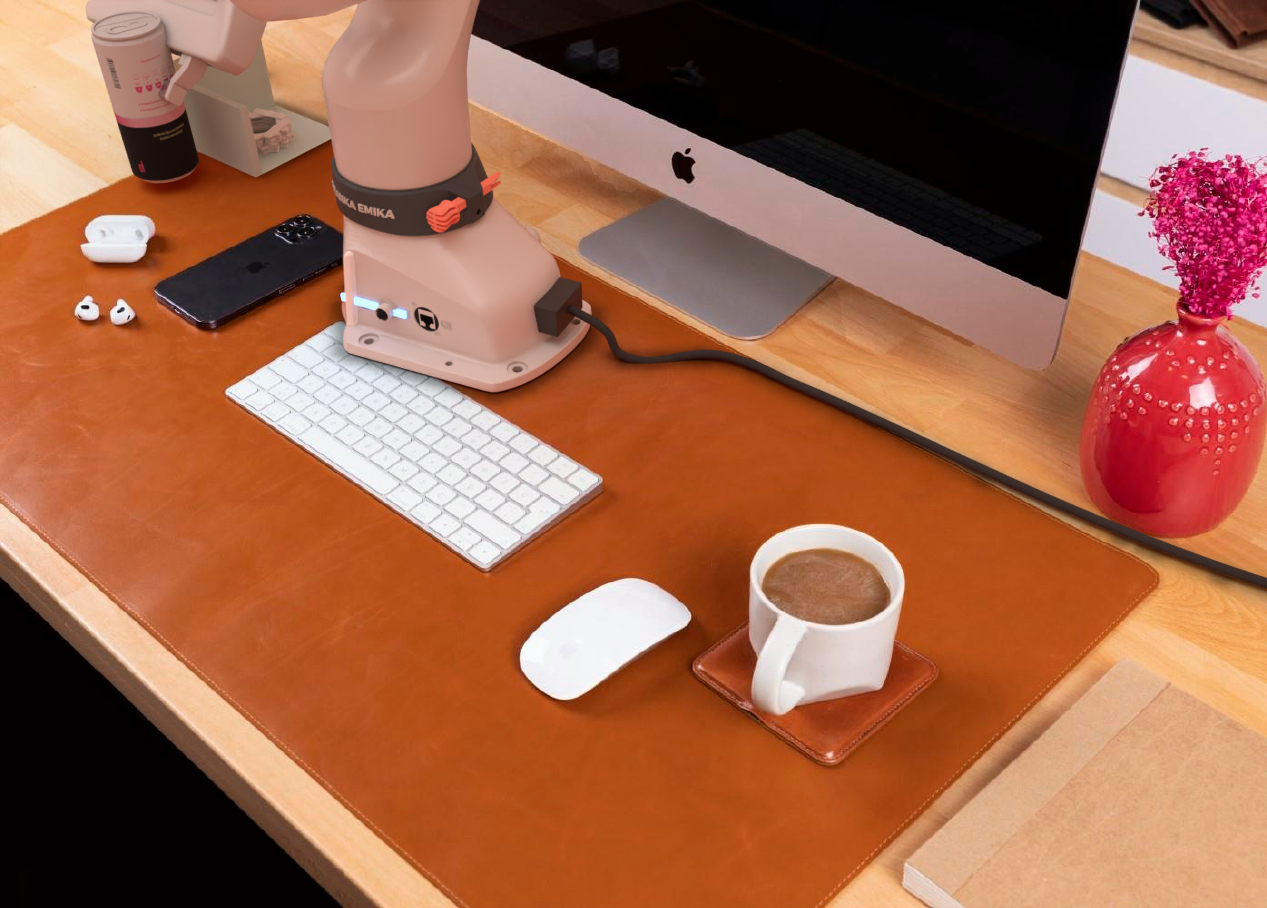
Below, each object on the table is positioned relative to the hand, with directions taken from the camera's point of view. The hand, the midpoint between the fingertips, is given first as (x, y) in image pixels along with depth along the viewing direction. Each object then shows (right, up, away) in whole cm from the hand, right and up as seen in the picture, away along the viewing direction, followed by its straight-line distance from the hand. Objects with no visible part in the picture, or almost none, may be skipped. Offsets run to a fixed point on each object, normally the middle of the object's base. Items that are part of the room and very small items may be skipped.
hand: (142, 92), depth 122 cm
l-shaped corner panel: (+8, -1, +13) cm, 16 cm away
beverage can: (0, -6, +6) cm, 9 cm away
